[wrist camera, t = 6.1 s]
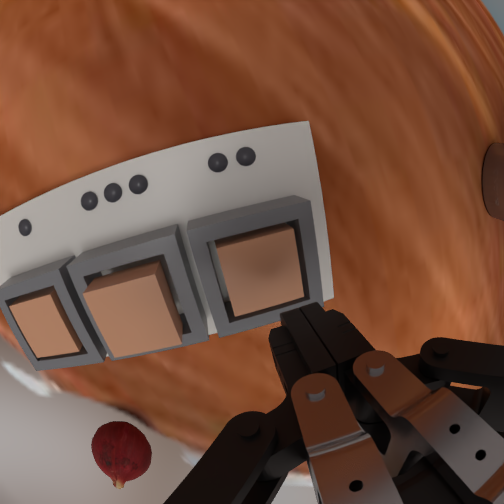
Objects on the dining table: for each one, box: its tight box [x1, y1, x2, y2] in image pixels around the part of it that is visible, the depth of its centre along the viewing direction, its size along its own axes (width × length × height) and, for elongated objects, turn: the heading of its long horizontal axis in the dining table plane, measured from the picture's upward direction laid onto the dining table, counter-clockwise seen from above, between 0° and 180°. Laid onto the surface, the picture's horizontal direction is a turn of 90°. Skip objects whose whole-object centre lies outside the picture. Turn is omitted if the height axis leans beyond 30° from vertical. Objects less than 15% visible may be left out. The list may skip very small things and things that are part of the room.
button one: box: [9, 285, 83, 358], centre depth 14 cm, size 4×4×2 cm
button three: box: [83, 260, 183, 358], centre depth 13 cm, size 4×4×2 cm
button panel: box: [0, 121, 334, 371], centre depth 16 cm, size 24×12×4 cm, turn 101°
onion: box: [91, 421, 152, 489], centre depth 18 cm, size 6×6×8 cm
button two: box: [214, 222, 304, 317], centre depth 16 cm, size 4×4×2 cm
